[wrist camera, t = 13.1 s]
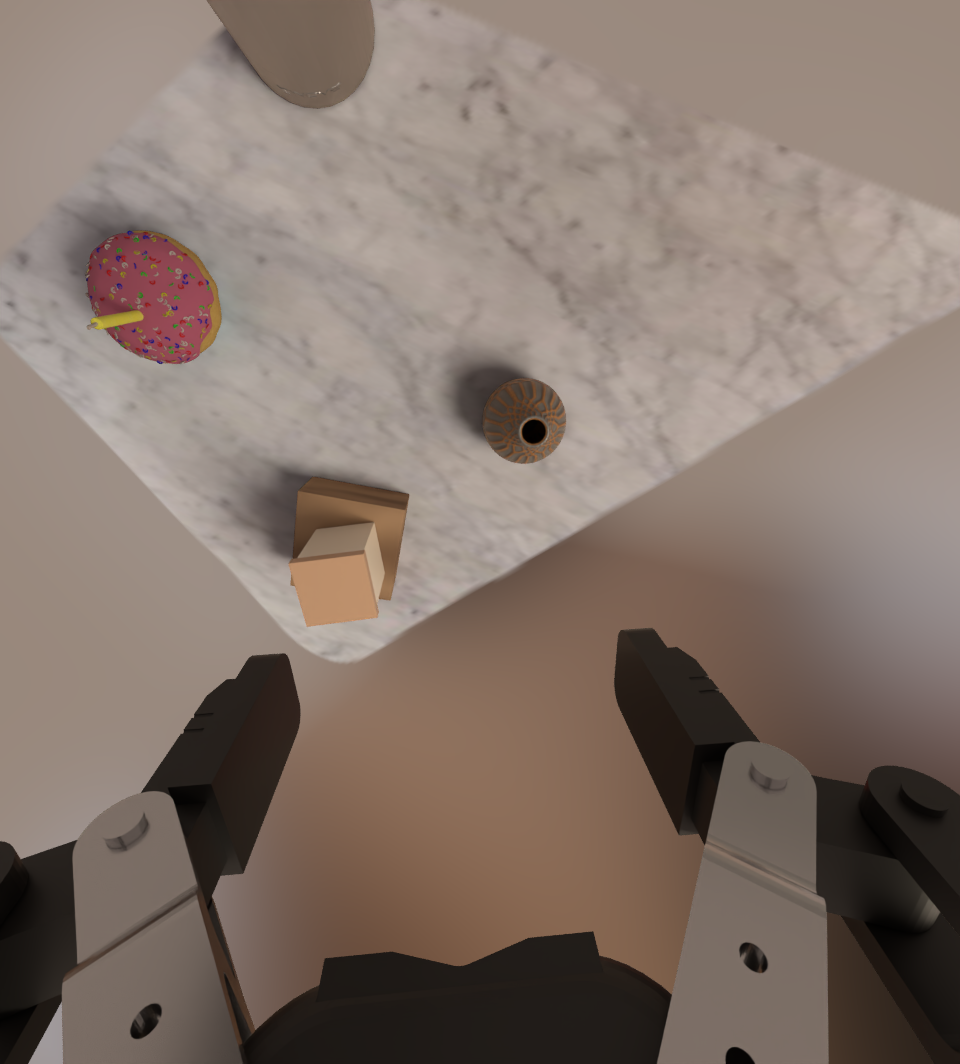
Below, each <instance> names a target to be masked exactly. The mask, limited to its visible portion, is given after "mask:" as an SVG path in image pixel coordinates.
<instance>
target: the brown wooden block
mask: <svg viewBox="0 0 960 1064" xmlns="http://www.w3.org/2000/svg"><path fill="white" fill-rule="evenodd" d="M408 500H409V494H405V493H400V492H394V491H389V490H383V489H378V488H372V487H367V486H362V485H356V484H351V483H345V482H340V481H334V480H329V479H323V478H318V477H312V478H311V479H310V480H309V481H308V482H307V483H306V484H305V485H304V486H303V487H302V488H301V489H300V490H299V491H298V496H297V509H296V522H295V535H294V547H293V559H295V558H298V556H299V555H300V553H301V552H302V550H303V549H304V547H305V546H306V544H307V543H308V541H309V540H310V538H311V537H312V535H313V534H314V532H315V531H316V529H322V528H330V527H339V526H347V525H355V524H363V523H371V522H374V523H375V528H376V533H377V537H378V542H379V547H380V552H381V557H382V562H383V567H384V571H385V575H384V579H383V583H382V587H381V591H380V595H379V599H384V600H391V596H392V591H393V587H394V582H395V578H396V572H397V566H398V560H399V554H400V548H401V542H402V536H403V530H404V524H405V518H406V512H407V506H408ZM291 585H292V586H295V584H294V581H293V577H292V574H291Z"/></svg>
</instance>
